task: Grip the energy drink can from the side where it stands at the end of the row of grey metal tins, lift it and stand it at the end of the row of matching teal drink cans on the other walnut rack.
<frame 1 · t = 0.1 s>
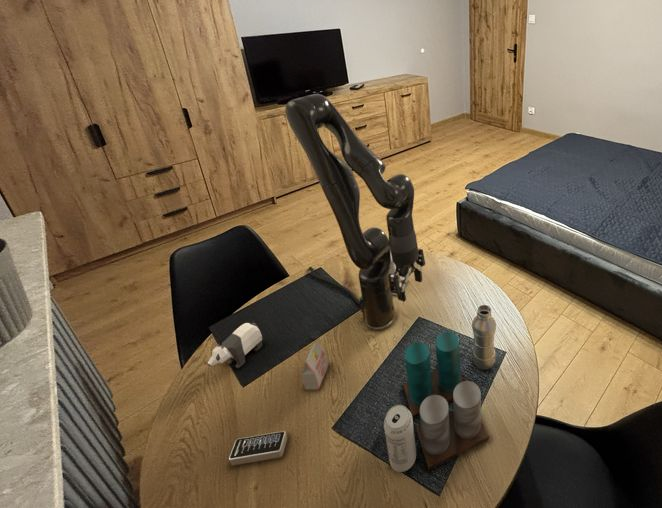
hand: (410, 290, 108), 17 cm above the table, tool pointing down, fingers open, 8 cm apart
pink white gabled box: (317, 378, 102), on the table
giant panda: (241, 358, 108), on the table
energy drink can: (403, 459, 83), on the table
plastic bottle: (484, 363, 105), on the table
white black flat block: (260, 451, 85), on the table
can rack: (435, 390, 98), on the table
tin rack: (452, 435, 88), on the table
milk carton: (393, 287, 134), on the table
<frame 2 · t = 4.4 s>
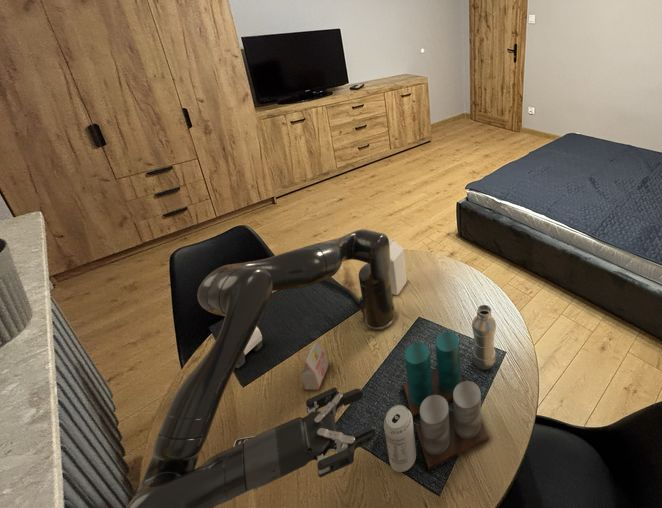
hand: (368, 410, 72), 21 cm above the table, tool horizontal, fingers open, 8 cm apart
nothing on the table moved.
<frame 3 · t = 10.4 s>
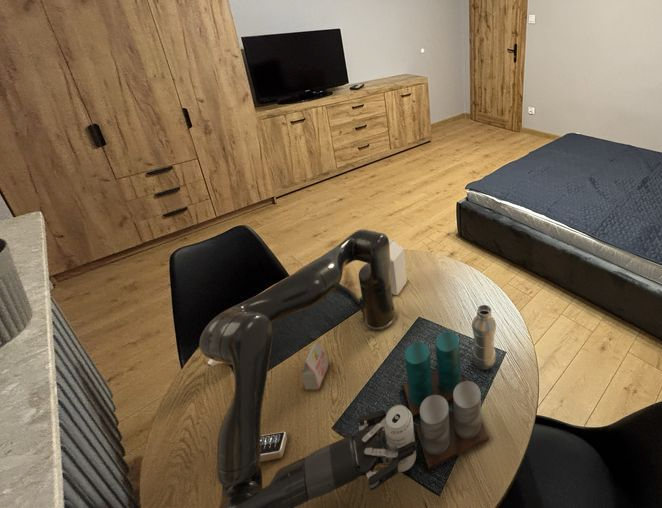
hand: (410, 430, 81), 8 cm above the table, tool horizontal, fingers closed on energy drink can, 6 cm apart
energy drink can: (403, 459, 83), on the table, touching gripper
everything else where it was.
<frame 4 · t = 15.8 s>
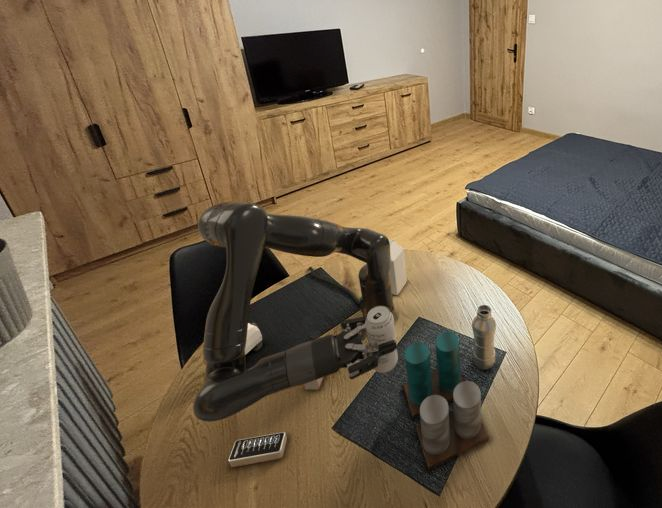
hand: (392, 332, 82), 27 cm above the table, tool horizontal, fingers closed on energy drink can, 6 cm apart
energy drink can: (385, 363, 85), point 18 cm above the table, touching gripper
everything else where it was.
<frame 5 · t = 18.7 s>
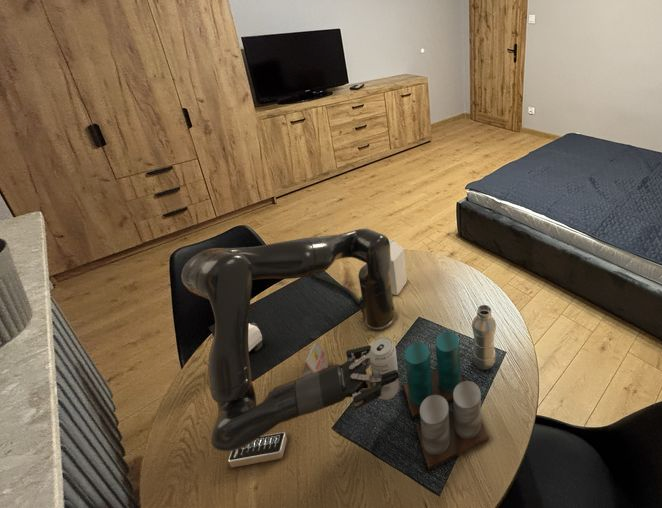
hand: (394, 361, 88), 16 cm above the table, tool horizontal, fingers closed on energy drink can, 6 cm apart
energy drink can: (387, 390, 90), point 7 cm above the table, touching gripper
everything else where it was.
when the fingers open (8 cm above the table, at t = 21.3 s): energy drink can stays where it is, on the table.
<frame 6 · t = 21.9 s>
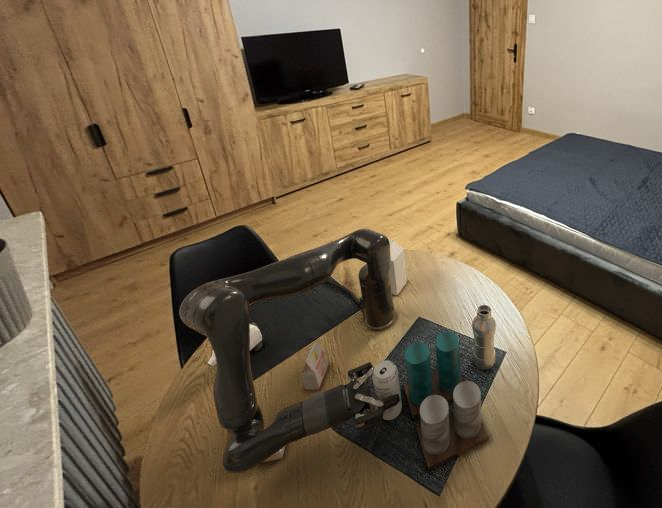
hand: (395, 381, 90), 9 cm above the table, tool horizontal, fingers open, 8 cm apart
energy drink can: (390, 410, 93), on the table
everything else where it was.
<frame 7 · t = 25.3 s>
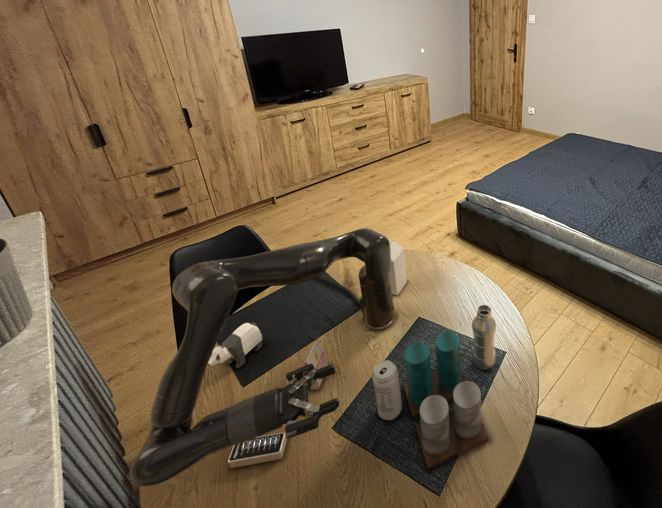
hand: (336, 384, 83), 16 cm above the table, tool horizontal, fingers open, 8 cm apart
nothing on the table moved.
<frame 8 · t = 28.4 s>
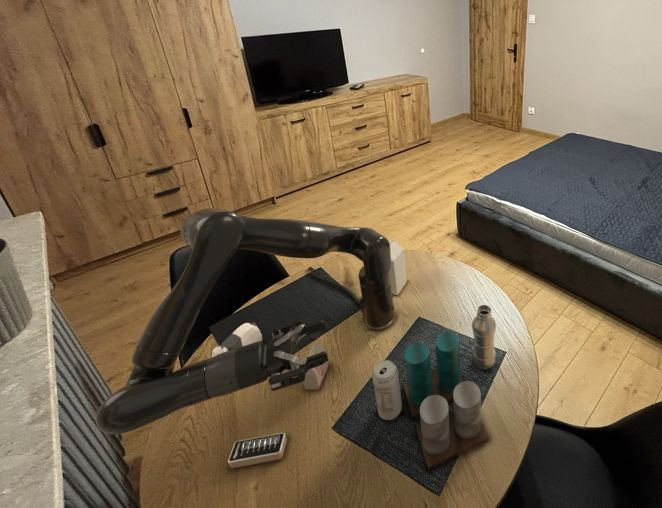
hand: (325, 339, 77), 30 cm above the table, tool horizontal, fingers open, 8 cm apart
nothing on the table moved.
at the end: energy drink can 0.1 cm from the target spot, on the table; energy drink can tilted 0°; the gripper is holding nothing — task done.
